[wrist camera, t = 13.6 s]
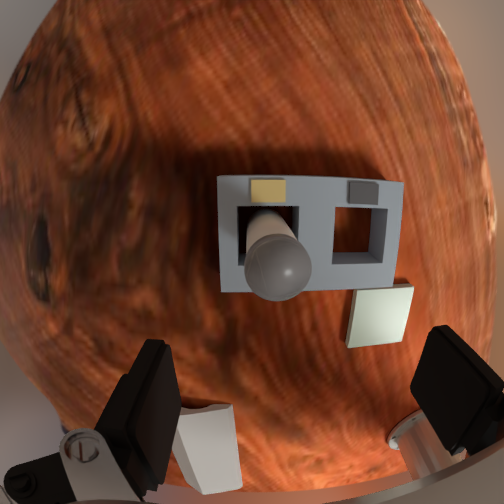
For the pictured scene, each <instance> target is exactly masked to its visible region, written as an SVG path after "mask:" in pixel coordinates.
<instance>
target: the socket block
mask: <svg viewBox="0 0 504 504" xmlns="http://www.w3.org/2000/svg"><path fill="white" fill-rule="evenodd" d="M403 187H404V183H403V182H396V181H389V180H380V179H367V178H352V177H335V176H311V175H220V176H217V195H218V230H219V257H220V279H221V292H253V291H252V290H251V289H250V287H249V286H248V284H247V282H246V279H245V274H244V264H245V257H246V253H239V212H238V206H293V211H292V233H293V234H294V236H295V237H296V239H297V240H298V241H299V242H300V243H301V244H302V245H303V247H304V248H305V250H306V251H307V253H308V254H309V257H310V259H311V264H312V272H311V277H310V280H309V282H308V284H307V285H306V287H305V288H304V289H303V290H302V291H316V290H342V289H363V288H381V287H393V281H394V275H395V268H396V261H397V254H398V246H399V238H400V228H401V217H402V204H403ZM335 207H361V208H372V212H371V226H370V238H369V248H368V252H333V239H334V222H335Z"/></svg>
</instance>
